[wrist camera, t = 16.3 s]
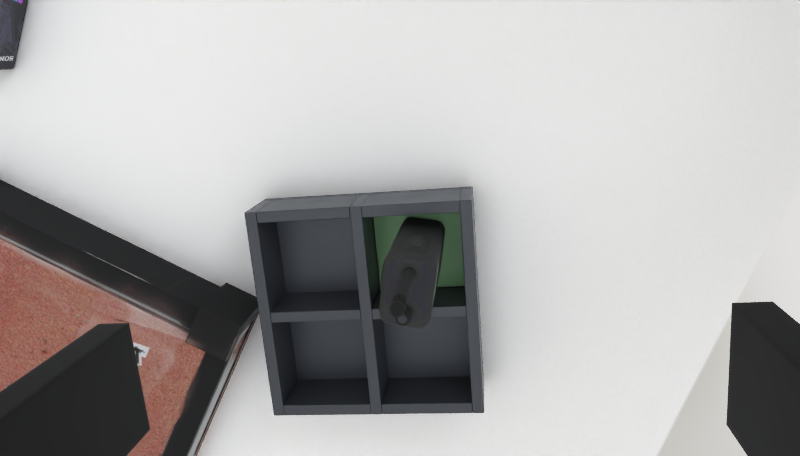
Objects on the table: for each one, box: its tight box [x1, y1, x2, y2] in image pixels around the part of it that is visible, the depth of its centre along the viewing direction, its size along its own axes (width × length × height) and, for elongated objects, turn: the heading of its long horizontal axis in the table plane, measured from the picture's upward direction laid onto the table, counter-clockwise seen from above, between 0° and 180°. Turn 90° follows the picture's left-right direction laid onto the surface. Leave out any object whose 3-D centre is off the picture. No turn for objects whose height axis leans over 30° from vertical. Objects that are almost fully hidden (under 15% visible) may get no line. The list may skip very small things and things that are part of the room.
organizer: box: [245, 187, 484, 415], centre depth 47 cm, size 15×15×4 cm
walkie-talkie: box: [379, 217, 445, 328], centre depth 40 cm, size 5×3×15 cm
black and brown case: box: [0, 180, 259, 456], centre depth 50 cm, size 26×18×5 cm
